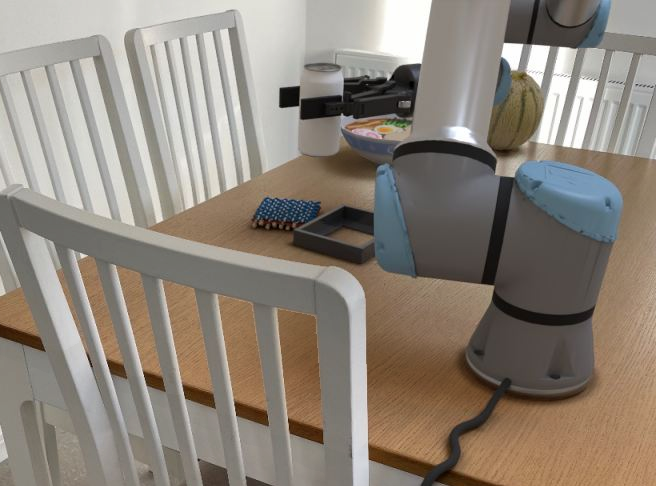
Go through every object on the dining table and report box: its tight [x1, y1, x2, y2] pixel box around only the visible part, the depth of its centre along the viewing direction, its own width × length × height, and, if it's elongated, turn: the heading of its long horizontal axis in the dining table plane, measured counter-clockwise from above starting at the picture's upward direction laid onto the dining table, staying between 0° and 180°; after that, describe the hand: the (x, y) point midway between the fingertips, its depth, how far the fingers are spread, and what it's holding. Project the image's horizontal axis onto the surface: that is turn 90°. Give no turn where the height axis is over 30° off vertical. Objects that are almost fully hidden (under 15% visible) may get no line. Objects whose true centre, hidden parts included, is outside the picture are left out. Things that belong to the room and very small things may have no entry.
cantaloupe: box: [487, 69, 545, 151], centre depth 168 cm, size 15×15×15 cm
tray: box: [292, 203, 376, 265], centre depth 132 cm, size 15×13×2 cm
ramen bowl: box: [340, 114, 413, 167], centre depth 162 cm, size 25×23×8 cm
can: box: [297, 61, 345, 158], centre depth 125 cm, size 6×6×12 cm
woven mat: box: [251, 196, 322, 231], centre depth 139 cm, size 10×11×2 cm
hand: (290, 103), depth 122 cm, fingers closed on can, 6 cm apart
